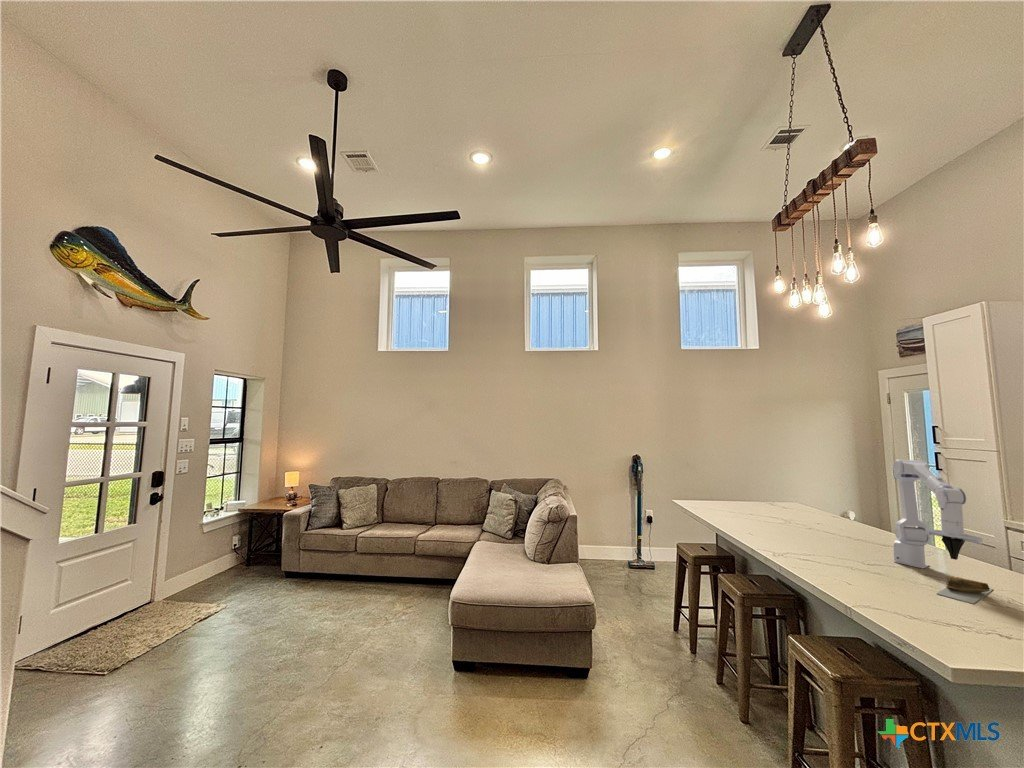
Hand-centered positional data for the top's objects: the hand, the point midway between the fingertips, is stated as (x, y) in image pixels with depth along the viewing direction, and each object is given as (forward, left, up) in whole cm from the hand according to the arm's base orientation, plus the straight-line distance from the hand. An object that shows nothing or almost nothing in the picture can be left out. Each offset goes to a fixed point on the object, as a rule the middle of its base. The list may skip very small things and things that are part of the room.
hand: (954, 558), depth 156 cm
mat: (+3, -3, -10) cm, 11 cm away
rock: (-2, -2, -8) cm, 8 cm away
